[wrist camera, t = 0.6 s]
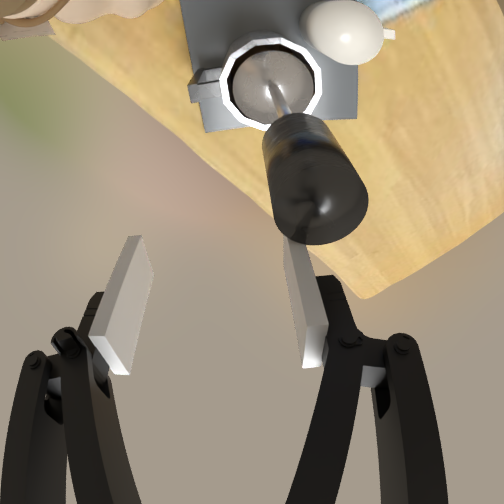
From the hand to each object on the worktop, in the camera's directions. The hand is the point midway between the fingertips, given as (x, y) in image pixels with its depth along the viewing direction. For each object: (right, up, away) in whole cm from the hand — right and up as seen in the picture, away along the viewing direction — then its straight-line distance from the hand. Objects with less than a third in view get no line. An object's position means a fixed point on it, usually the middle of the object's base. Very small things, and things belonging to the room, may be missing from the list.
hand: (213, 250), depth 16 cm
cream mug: (+13, +29, +15) cm, 35 cm away
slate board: (+5, +26, +19) cm, 32 cm away
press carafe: (+2, +24, +19) cm, 31 cm away
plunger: (+4, +15, +10) cm, 19 cm away
